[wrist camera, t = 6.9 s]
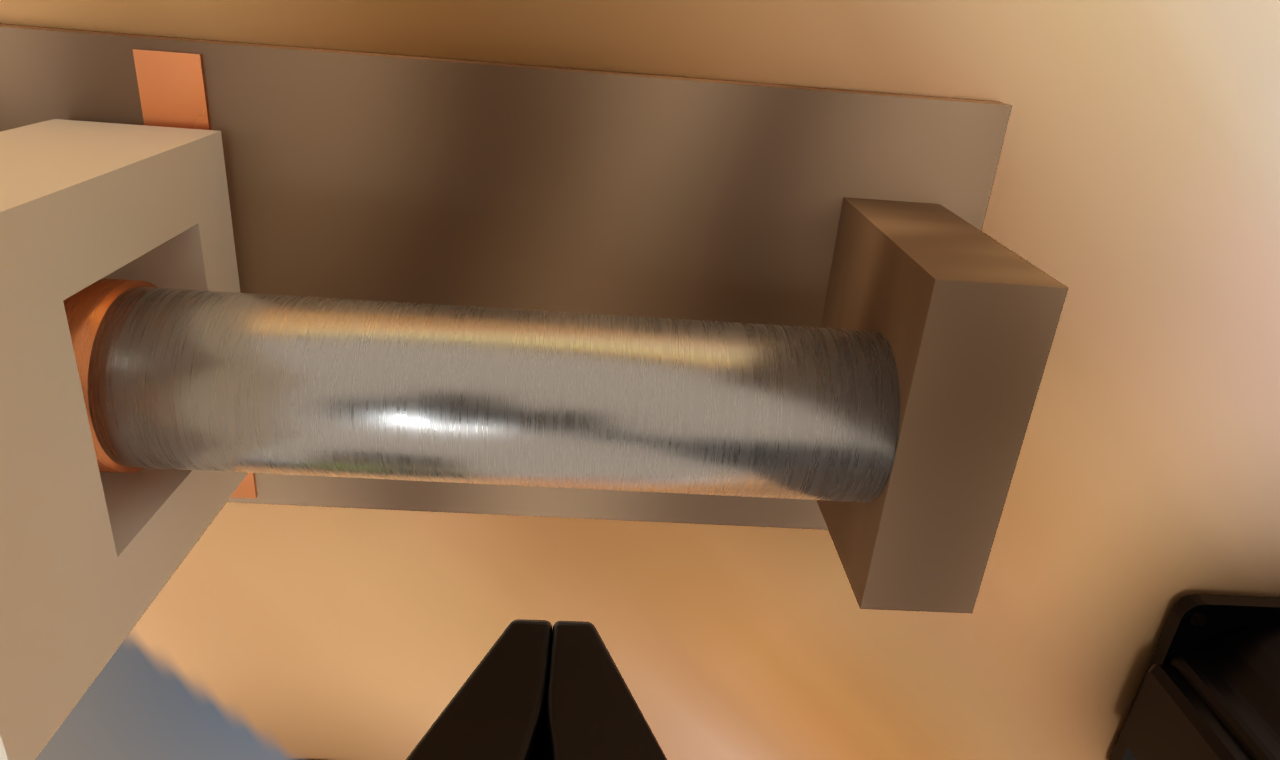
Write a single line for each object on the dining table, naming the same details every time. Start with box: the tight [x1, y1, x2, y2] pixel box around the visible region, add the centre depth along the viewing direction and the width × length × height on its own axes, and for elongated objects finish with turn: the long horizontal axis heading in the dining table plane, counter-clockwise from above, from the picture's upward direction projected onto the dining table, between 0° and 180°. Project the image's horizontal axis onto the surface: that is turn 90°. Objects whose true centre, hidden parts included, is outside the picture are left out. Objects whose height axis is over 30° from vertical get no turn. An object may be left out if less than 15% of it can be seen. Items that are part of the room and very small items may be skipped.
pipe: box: [63, 49, 900, 502], centre depth 16 cm, size 20×10×6 cm, turn 86°
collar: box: [0, 119, 248, 760], centre depth 14 cm, size 3×7×9 cm, turn 175°
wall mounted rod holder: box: [0, 24, 1068, 613], centre depth 16 cm, size 22×10×6 cm, turn 86°
